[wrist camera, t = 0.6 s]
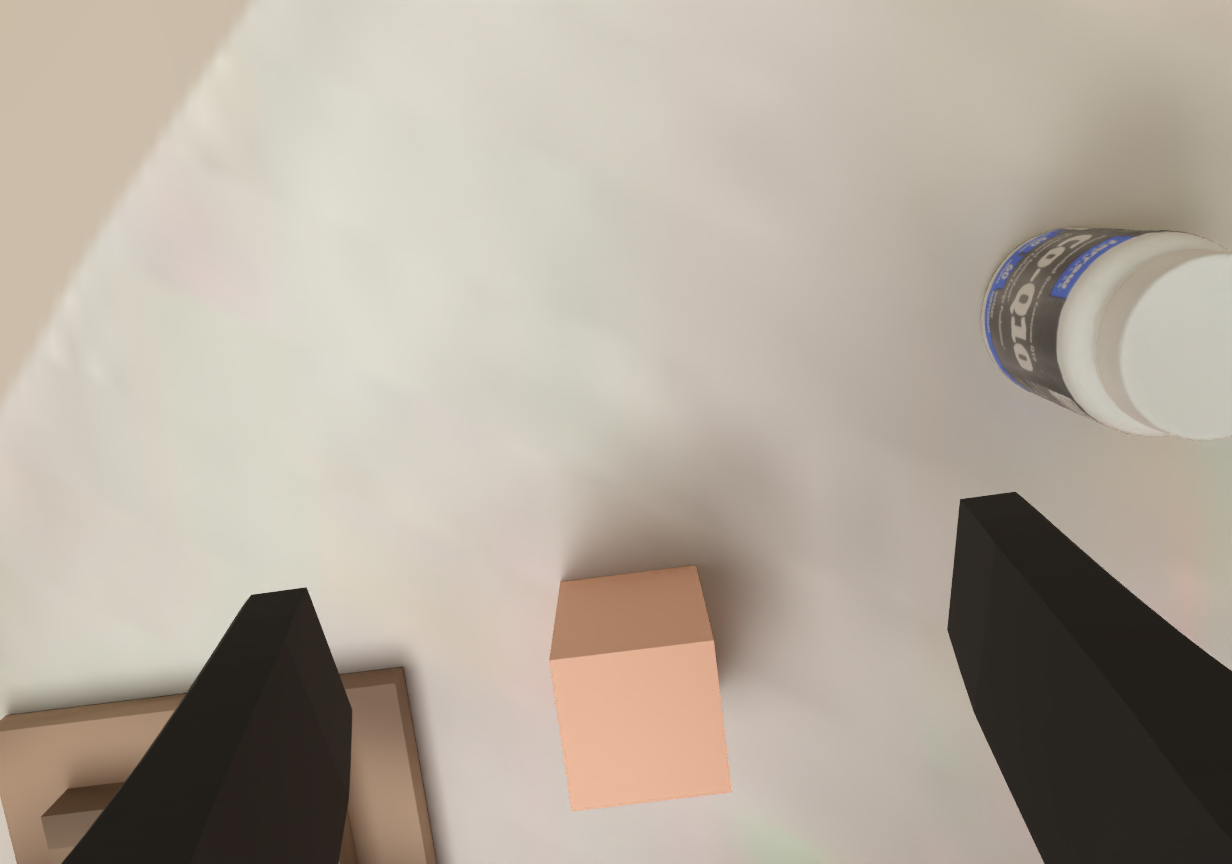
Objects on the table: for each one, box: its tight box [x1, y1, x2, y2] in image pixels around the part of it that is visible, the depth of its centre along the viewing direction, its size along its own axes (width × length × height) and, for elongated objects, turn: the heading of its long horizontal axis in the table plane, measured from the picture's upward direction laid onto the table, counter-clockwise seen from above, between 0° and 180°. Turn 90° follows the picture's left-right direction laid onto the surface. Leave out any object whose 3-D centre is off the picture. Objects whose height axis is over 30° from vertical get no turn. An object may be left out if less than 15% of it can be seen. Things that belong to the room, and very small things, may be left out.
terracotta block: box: [549, 565, 732, 811], centre depth 31 cm, size 4×4×6 cm
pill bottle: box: [981, 228, 1232, 440], centre depth 28 cm, size 5×5×8 cm
